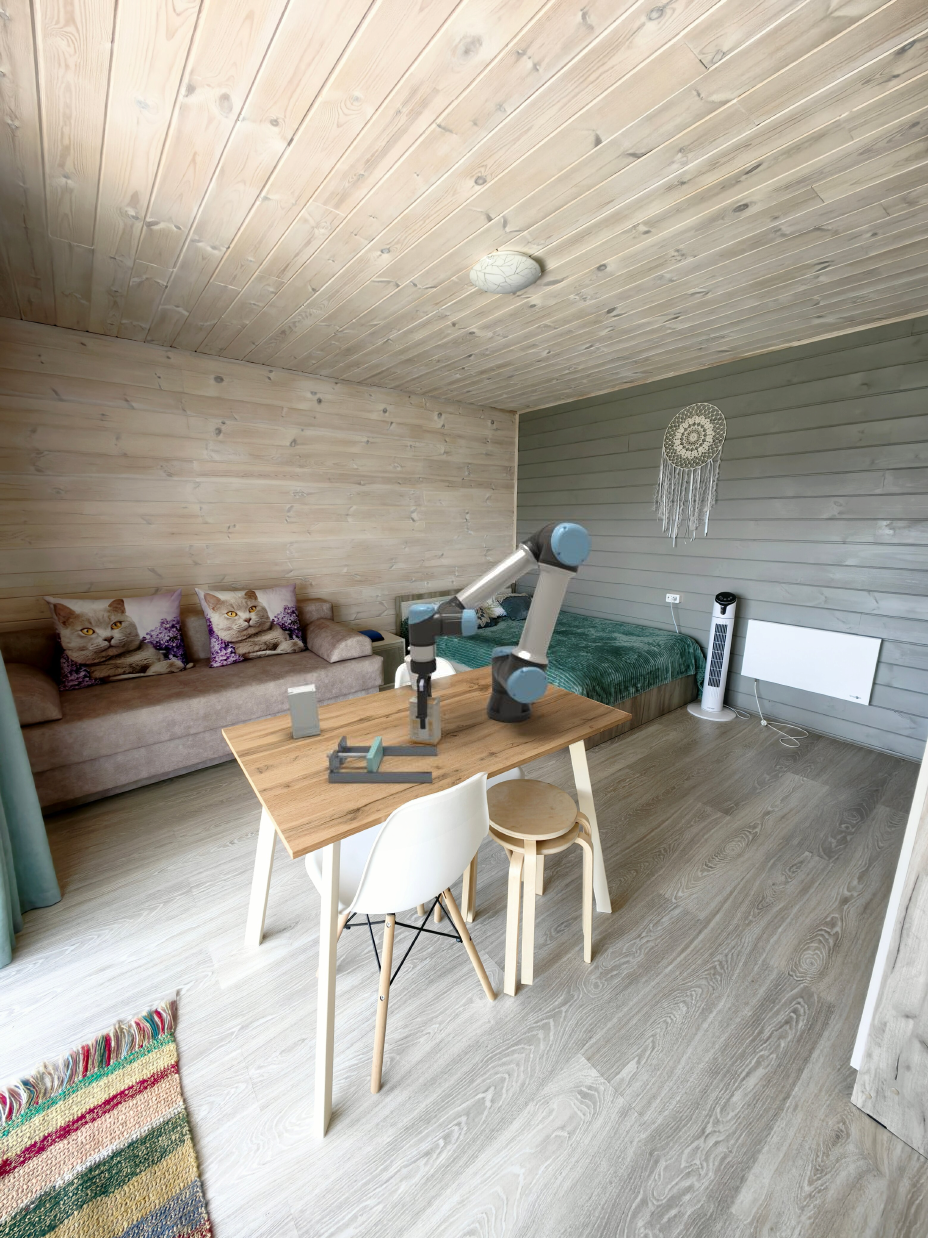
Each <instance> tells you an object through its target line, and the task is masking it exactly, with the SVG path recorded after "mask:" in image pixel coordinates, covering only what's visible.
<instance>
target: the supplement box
mask: <svg viewBox="0 0 928 1238" xmlns="http://www.w3.org/2000/svg"><path fill="white" fill-rule="evenodd" d="M408 711H409V728H410V729H409V730H410V742H411V743H417V744H418V743H419V744H426V745H430V746H437V744H438V743H439V742H440V741H441V739H442V723H441V721H442V720H441V700H440V697H433V696H432V697H427V716H428V734H429V738H428V739H419V727H418V719H417V718H415V716H417V695H415V696H413V697H412V698H410V699H409V700H408Z"/></svg>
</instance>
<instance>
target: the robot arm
mask: <svg viewBox="0 0 928 1238" xmlns="http://www.w3.org/2000/svg"><path fill="white" fill-rule="evenodd" d="M591 539H592V538H591V536H590V535H589V532H588V531H587V530H586V529H585V528H584V527H582V525H579V524H576V523H573V522H572V523H571V522H562V523H560V522H551V523H547V524H545V525H543V526H541V527H540V528H538V529H537V530H535V531H534V532H533V533H532V534H531V535H529V536H528V537H527V538H525V539H523V541H522V542H520V543H519V544H518V548H517V549H516V550H514V551H513V552H512V553H511V554H509V555H508V556H507V557H505V558H504V559H502V560H501V561H500V562H499V563H497V564H496V565H495V566H493V567H491V568H490V569H489V570H487V571H486V572H485V573H483V574H482V575H481V576H479V577H478V578H477V579H475V580H474V581H473V582H471V583H470V584H469V585H467V586H466V587H465V588H463V589H462V590H460V591H459V592H458V593H456V594H455V595H454V596H453V597H451V598H450V599H448V600H444V601H441V602H439V603H438V604H437V606H436V608H435V605H433V604H429V603H418V604H413V605H411V606H410V607H409V608H408V621H407V622H408V639H409V641H408V642H409V646H408V647H407V650H408V651H410V652H409V655H410V657H411V658H412V659H411V660H410V668H411V672H412V673H414V674H418V675H419V676H418V679H417V680H416V684H417V690H416V696H417V716H415V718H417V719H418V727H419V739H428V738H429V734H428V716H427V697H433V694H432V676H430V674H431V673H432V674H433V673H435V672H437V666H438V665H437V658H436V657H437V640H436V639H437V638H448V637H451V638H452V637H467V636H473V635H475V634H476V633H477V631H478V615H477V613H476V610H477V609H479V608H480V607H482V606H483V605H484V604H485V603H487V602H488V601H489V600H491V599H493V598H494V597H495V596H496V595H498V594H500V593H501V592H502V591H503V590H505V589H506V588H508V587H509V586H510V585H511V584H513V583H514V582H516V581H517V580H518V579H519V578H521V577H523V576H524V575H525V574H526V573H527V572H529V571H530V570H532V569H539V568H540V573H539V577H538V581H537V584H536V586H535V590H534V592H533V597H532V600H531V603H530V606H529V609H528V613H527V616H526V620H525V623H524V626H523V629H522V633H521V636H520V638H519V639H520V640H519V642H518V645H507V646H506V645H505V646H498V647H494V648H493V649H492V651H491V657H490V659H491V693H490V695H489V699H488V702H487V705H486V715H487V716H488V717H489V718H490V719H492V720H494V721H499V722H503V723H518V722H522V721H526V720H528V719H529V718H531V717H532V713H533V711H532V710H533V708H532V704H531V703H535V702H536V701H538V700H540V699H541V698H542V697H543V696H544V695H545V694H546V691H547V690H548V686H549V681H548V677H547V675H546V673H547V669H548V666H549V659H548V658H547V656H546V655H547V651H548V649H549V645H550V642H551V638H552V636H553V633H554V630H555V626H556V623H557V620H558V617H559V613H560V611H561V607H562V604H563V601H564V599H565V598H564V597H565V595H566V592H567V588H568V584H569V581H570V580H571V578H572V577H575V576H576V575H577V574H578V570H579V568H580V564H582V563H584V562H585V561H586V560H587V559H588V558H589V556H590V554H591V552H592V541H591Z"/></svg>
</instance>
